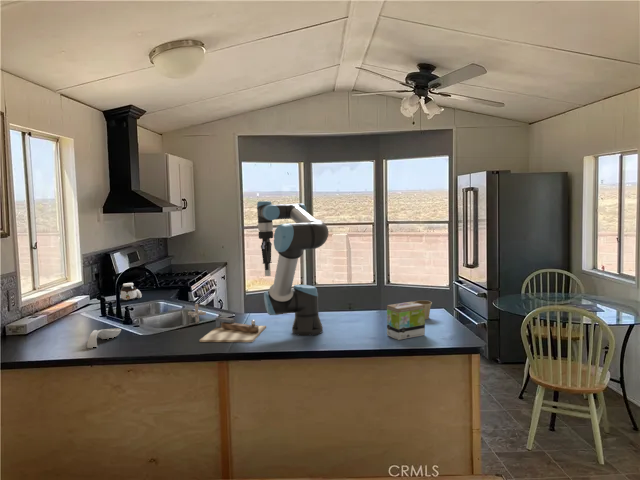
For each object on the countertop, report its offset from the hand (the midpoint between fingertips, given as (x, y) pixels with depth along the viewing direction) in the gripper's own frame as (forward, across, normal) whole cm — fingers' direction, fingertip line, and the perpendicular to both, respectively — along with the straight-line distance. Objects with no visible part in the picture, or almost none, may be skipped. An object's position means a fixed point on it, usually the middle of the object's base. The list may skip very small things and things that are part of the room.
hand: (267, 275), depth 248 cm
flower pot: (+27, -14, +80) cm, 85 cm away
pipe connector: (+27, -6, -43) cm, 51 cm away
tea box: (+27, +18, +70) cm, 77 cm away
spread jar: (+27, -70, -119) cm, 141 cm away
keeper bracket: (+25, +8, -22) cm, 34 cm away
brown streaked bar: (+25, +13, -12) cm, 31 cm away
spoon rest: (+27, +29, -77) cm, 86 cm away
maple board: (+26, +17, -14) cm, 34 cm away
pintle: (+22, +17, -4) cm, 28 cm away
